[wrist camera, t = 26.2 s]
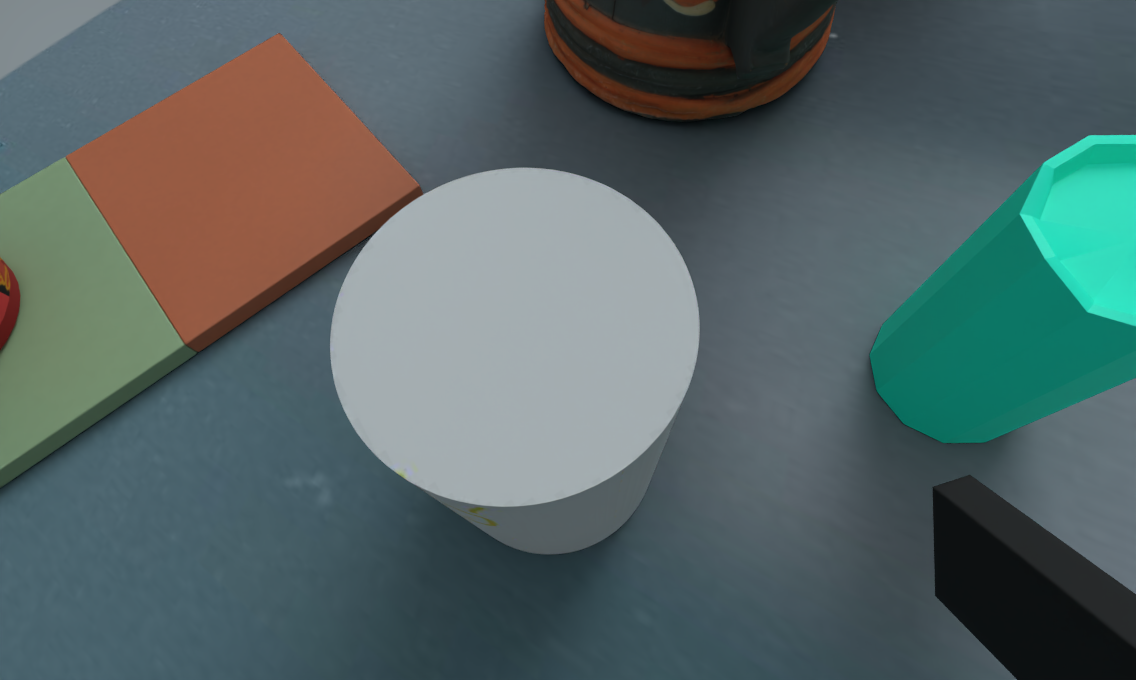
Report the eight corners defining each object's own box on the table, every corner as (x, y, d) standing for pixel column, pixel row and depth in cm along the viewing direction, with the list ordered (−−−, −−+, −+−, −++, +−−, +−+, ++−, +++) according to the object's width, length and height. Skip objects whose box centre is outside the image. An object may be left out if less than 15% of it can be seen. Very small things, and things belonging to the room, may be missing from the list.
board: (-77, 541, 25) (-103, 539, 24) (-166, 313, 29) (-191, 304, 28) (425, 198, 30) (420, 185, 29) (288, 47, 34) (279, 31, 33)
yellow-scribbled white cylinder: (430, 381, 26) (308, 218, 15) (617, 327, 27) (630, 132, 16) (474, 582, 23) (361, 559, 12) (684, 517, 24) (759, 438, 13)
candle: (923, 278, 27) (1144, 52, 16) (1055, 369, 25) (1407, 185, 14) (839, 373, 26) (1018, 196, 15) (972, 478, 24) (1293, 366, 13)
